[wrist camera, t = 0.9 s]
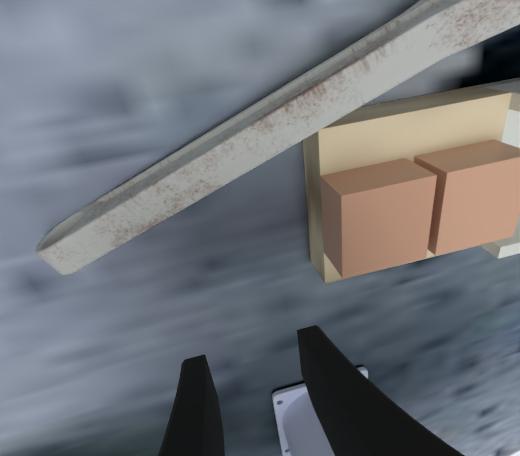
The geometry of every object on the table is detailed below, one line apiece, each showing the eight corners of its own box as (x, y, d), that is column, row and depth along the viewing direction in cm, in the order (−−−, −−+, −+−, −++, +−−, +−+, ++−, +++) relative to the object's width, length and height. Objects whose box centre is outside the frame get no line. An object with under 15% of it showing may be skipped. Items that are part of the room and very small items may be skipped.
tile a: (478, 215, 21) (513, 236, 19) (407, 231, 20) (435, 255, 18) (493, 139, 19) (535, 153, 16) (414, 156, 18) (447, 172, 16)
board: (451, 226, 24) (478, 245, 22) (310, 260, 23) (325, 283, 21) (474, 85, 20) (512, 92, 18) (301, 118, 18) (318, 129, 16)
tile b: (399, 233, 20) (426, 257, 18) (323, 251, 20) (342, 278, 18) (405, 157, 18) (437, 175, 16) (320, 175, 17) (341, 196, 15)
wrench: (65, 203, 21) (594, -127, 16) (88, 225, 22) (595, -79, 17) (-6, 298, 14) (889, -228, 9) (32, 325, 15) (862, -137, 10)
